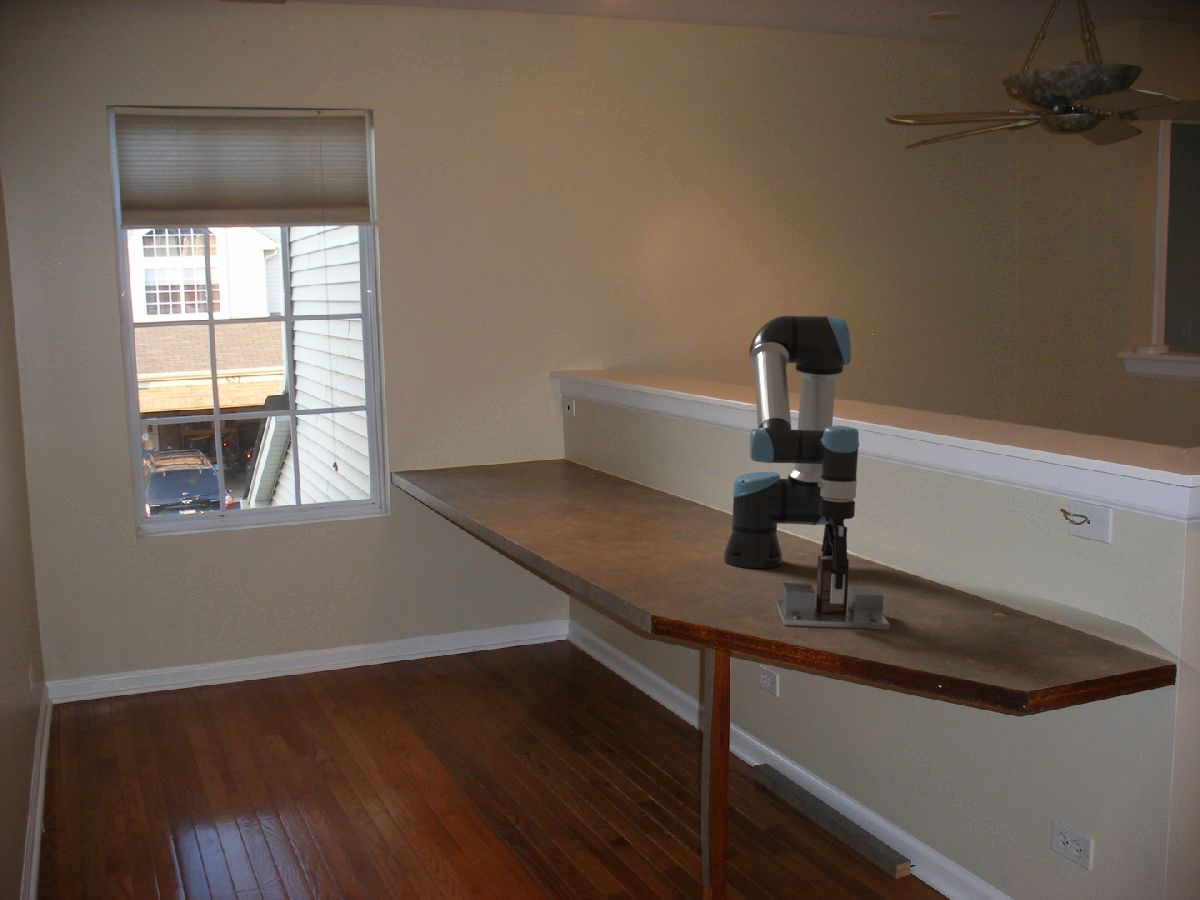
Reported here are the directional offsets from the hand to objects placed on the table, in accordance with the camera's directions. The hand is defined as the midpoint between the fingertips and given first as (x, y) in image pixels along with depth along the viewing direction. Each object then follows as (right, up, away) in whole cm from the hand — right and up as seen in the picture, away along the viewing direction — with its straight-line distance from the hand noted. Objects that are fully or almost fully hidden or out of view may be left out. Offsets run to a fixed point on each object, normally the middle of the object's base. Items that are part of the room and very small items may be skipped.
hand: (832, 595), depth 250 cm
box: (0, -4, +1) cm, 4 cm away
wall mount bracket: (0, -5, +1) cm, 5 cm away
